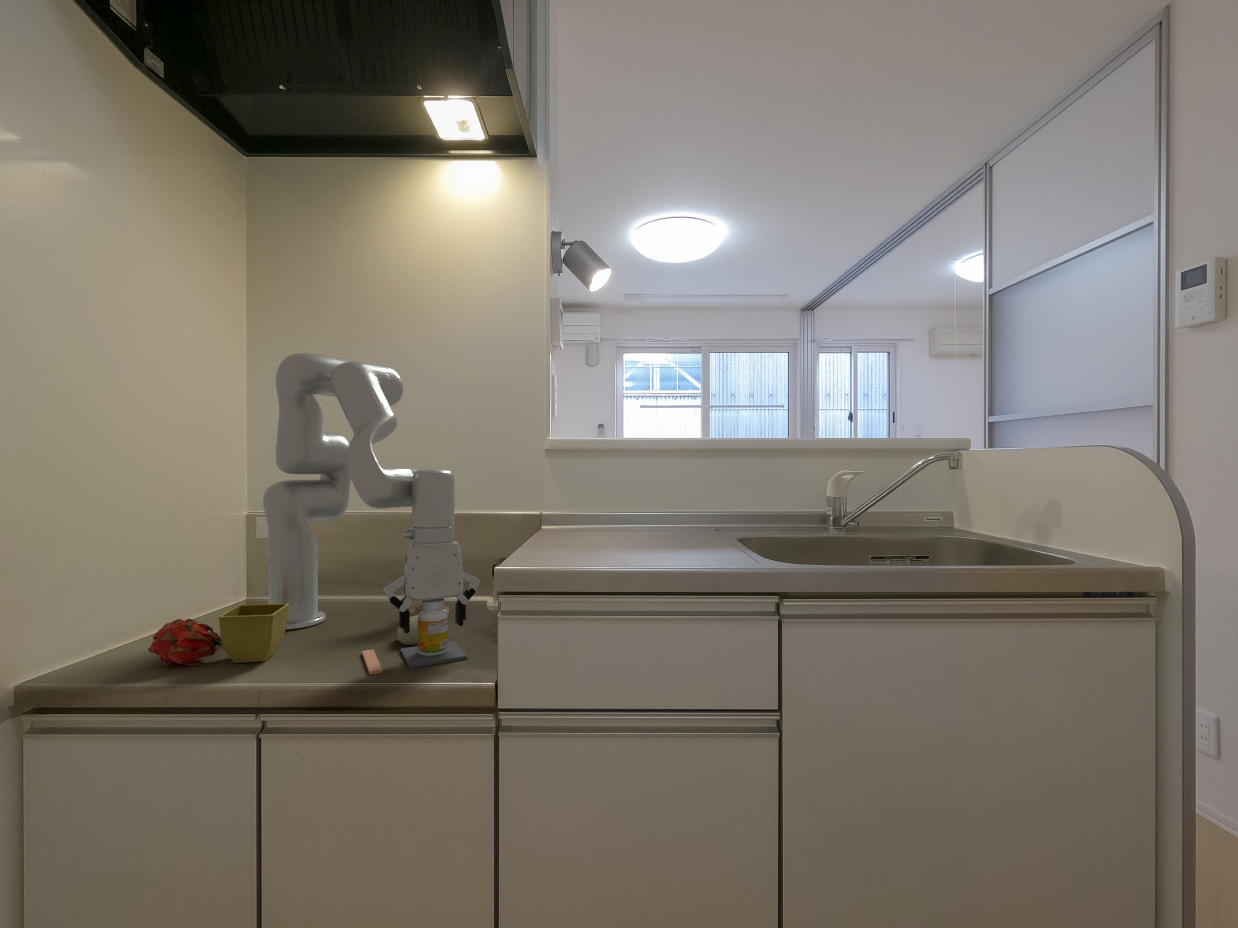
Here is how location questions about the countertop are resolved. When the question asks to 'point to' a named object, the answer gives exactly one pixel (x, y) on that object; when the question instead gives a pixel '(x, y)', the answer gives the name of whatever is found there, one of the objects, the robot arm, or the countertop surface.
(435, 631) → the supplement bottle
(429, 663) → the pad
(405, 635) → the sea urchin shell
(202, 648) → the dragon fruit
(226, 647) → the flower pot
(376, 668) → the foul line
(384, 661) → the countertop surface
